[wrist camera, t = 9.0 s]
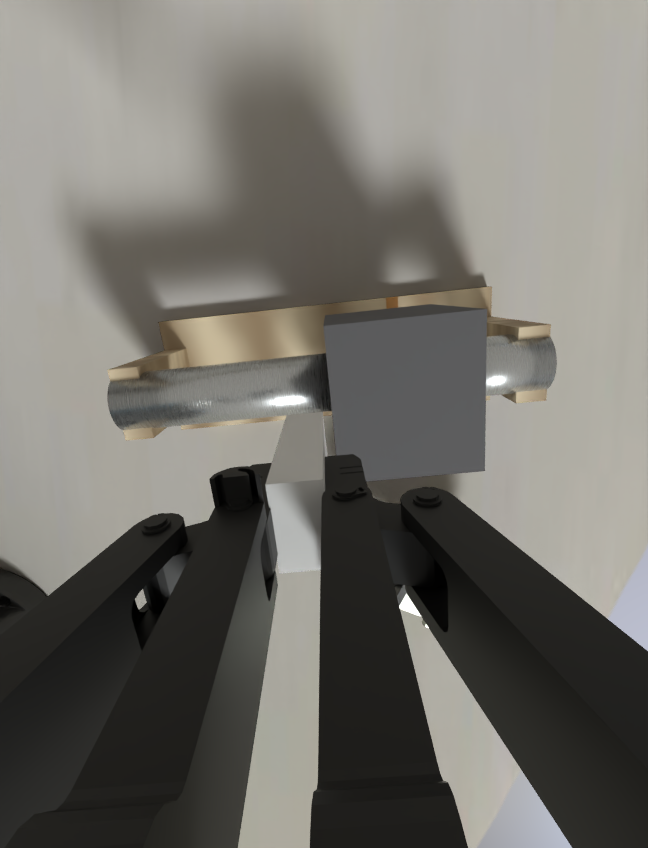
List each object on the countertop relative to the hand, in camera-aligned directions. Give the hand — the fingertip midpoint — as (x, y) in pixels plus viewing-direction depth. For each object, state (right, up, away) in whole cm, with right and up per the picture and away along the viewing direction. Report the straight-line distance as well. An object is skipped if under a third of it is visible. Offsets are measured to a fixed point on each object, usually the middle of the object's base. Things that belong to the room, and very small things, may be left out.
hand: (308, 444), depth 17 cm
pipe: (+1, +4, +13) cm, 14 cm away
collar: (+5, +5, +15) cm, 17 cm away
